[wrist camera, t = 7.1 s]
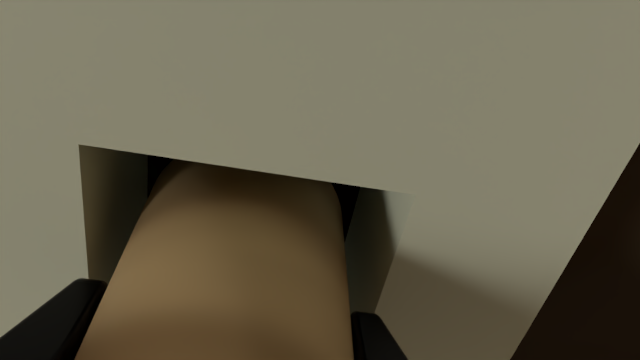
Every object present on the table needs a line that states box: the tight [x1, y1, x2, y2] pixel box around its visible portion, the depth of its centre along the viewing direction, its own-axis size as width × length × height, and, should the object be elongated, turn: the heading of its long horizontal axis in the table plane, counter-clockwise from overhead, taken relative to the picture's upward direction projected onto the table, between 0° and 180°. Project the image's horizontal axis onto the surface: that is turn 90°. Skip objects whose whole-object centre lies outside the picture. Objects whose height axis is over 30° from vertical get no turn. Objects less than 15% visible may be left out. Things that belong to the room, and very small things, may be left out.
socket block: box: [0, 0, 640, 360], centre depth 10 cm, size 11×10×4 cm
